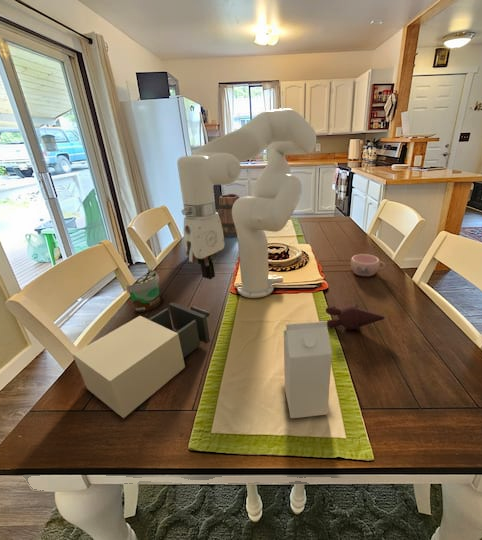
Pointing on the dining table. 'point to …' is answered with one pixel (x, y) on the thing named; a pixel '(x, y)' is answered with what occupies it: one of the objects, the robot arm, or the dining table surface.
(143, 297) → the food container
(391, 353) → the dining table surface
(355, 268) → the mug
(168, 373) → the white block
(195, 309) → the drawer
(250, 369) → the dining table surface
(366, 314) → the icecream
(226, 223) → the tankard
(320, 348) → the milk carton
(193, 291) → the dining table surface
